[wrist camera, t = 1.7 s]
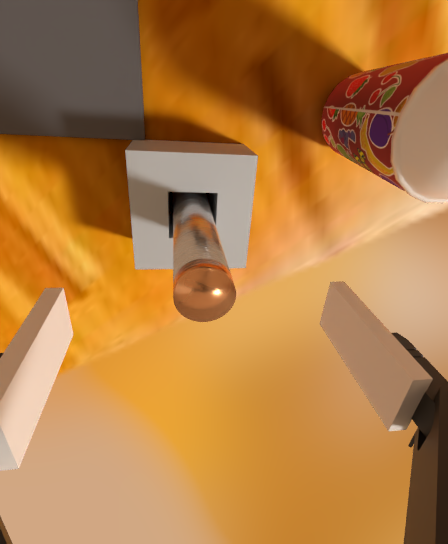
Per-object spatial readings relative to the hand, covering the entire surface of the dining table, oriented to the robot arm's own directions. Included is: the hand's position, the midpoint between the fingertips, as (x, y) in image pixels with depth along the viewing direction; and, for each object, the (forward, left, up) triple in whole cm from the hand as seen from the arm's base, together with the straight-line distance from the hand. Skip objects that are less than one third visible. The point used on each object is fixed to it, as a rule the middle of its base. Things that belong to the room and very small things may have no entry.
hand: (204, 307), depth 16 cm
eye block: (0, 0, -18) cm, 18 cm away
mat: (-11, -10, -18) cm, 24 cm away
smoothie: (-8, +15, -19) cm, 25 cm away
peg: (0, 0, -19) cm, 18 cm away
